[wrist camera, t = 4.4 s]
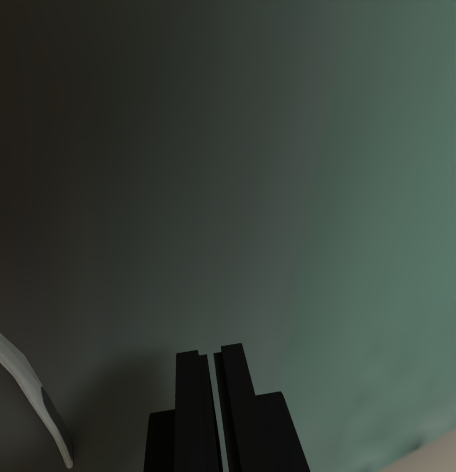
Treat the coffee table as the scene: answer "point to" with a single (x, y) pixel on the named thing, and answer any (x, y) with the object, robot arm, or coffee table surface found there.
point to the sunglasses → (36, 396)
